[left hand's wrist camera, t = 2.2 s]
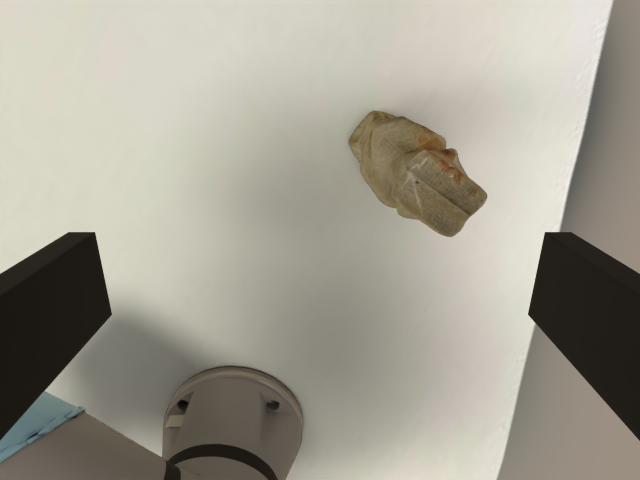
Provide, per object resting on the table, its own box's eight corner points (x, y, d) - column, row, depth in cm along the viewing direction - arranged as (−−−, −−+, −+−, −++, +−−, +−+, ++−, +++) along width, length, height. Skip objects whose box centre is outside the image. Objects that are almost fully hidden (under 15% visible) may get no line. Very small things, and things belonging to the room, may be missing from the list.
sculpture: (394, 197, 38) (437, 266, 24) (335, 146, 37) (344, 187, 23) (440, 148, 37) (515, 192, 23) (381, 92, 35) (421, 101, 21)
